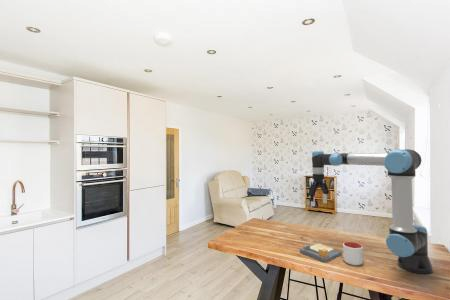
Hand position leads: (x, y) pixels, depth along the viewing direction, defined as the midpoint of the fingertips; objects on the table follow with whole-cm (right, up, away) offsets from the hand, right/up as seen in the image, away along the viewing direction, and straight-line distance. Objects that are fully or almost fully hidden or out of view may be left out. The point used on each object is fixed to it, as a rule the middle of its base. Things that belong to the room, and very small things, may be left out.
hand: (319, 204), depth 167 cm
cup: (+10, -28, -25) cm, 39 cm away
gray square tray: (-4, -28, -13) cm, 31 cm away
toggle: (-6, -26, -22) cm, 35 cm away
